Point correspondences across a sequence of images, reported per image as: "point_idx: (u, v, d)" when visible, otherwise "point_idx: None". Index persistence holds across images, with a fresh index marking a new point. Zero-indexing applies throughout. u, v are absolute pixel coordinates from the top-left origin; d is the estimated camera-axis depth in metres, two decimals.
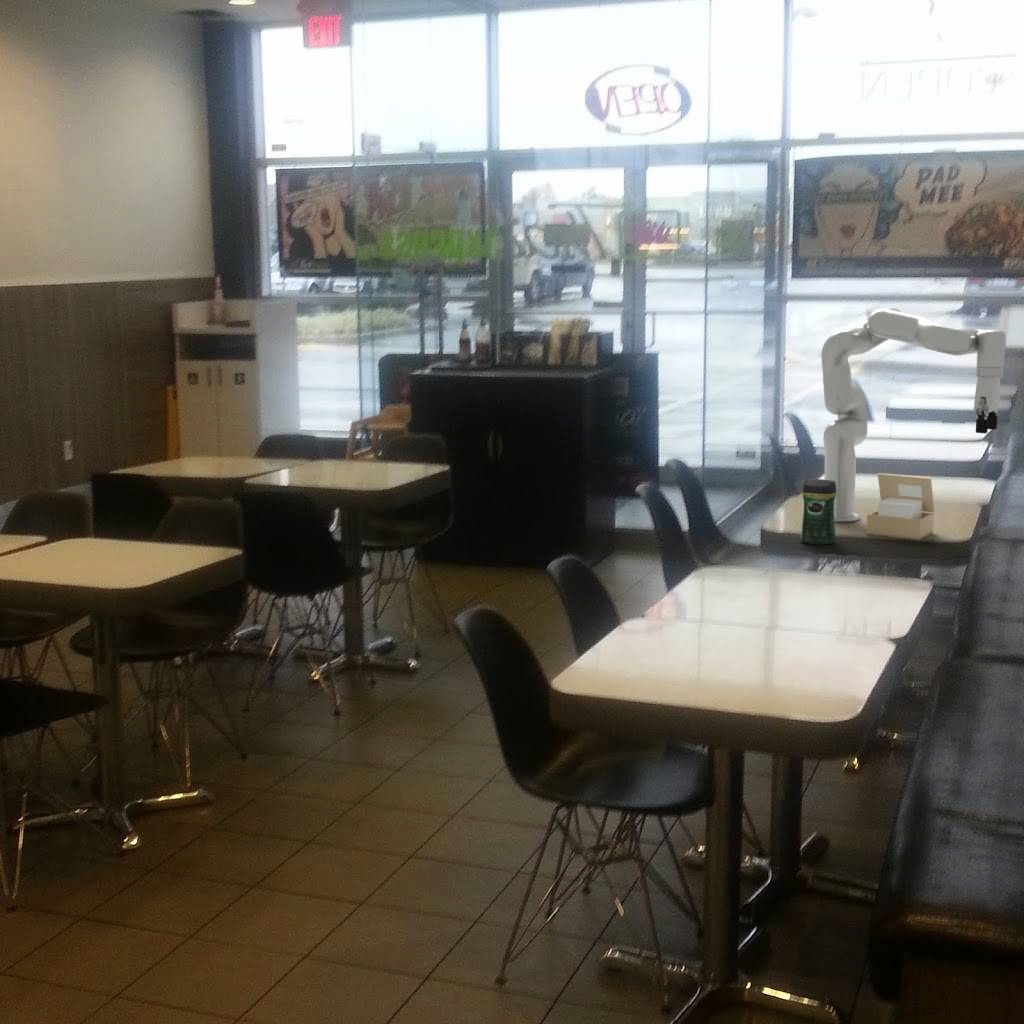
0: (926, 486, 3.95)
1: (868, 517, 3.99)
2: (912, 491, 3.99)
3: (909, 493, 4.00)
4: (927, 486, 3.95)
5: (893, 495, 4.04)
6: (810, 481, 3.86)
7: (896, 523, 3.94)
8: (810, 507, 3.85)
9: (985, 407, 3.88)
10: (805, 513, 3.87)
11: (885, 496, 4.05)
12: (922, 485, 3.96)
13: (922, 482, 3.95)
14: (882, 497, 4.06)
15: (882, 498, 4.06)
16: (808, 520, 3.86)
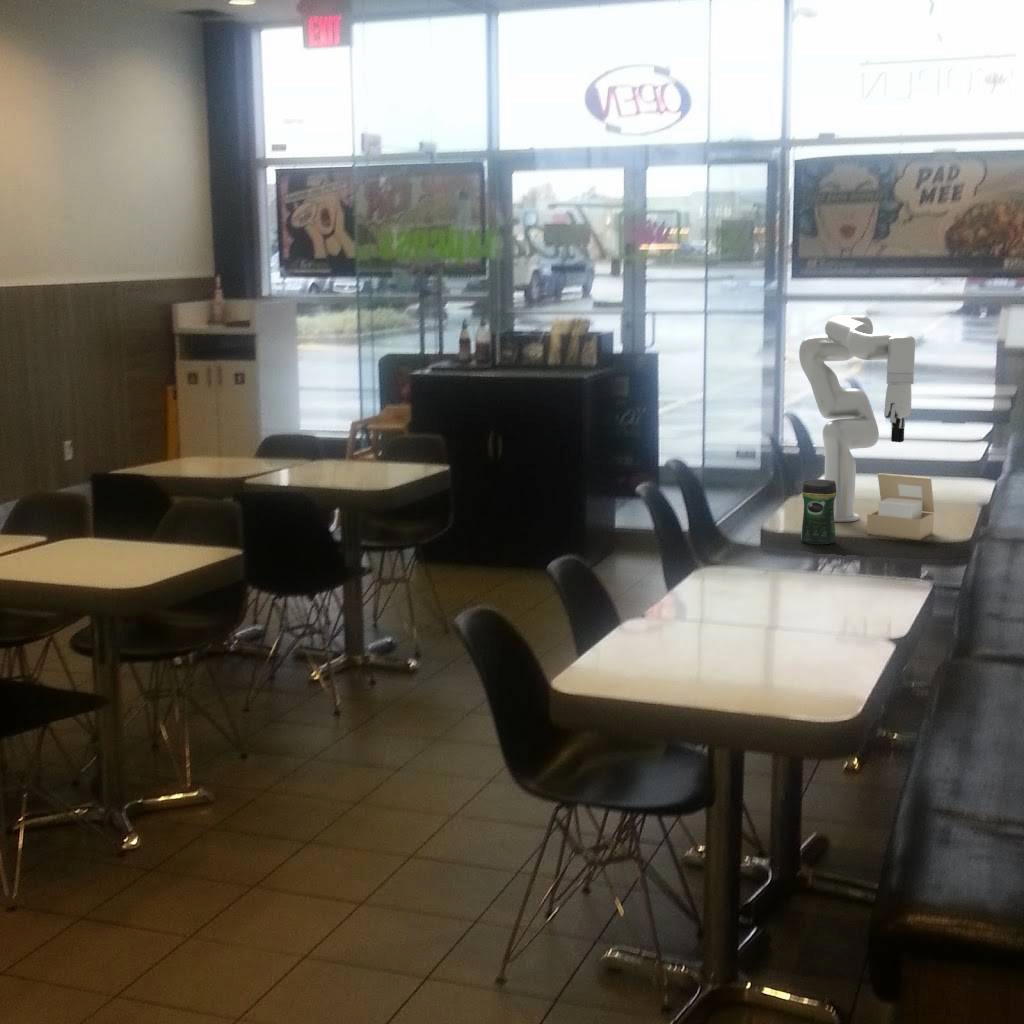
0: (926, 486, 3.95)
1: (868, 517, 3.99)
2: (912, 491, 3.99)
3: (909, 493, 4.00)
4: (927, 486, 3.95)
5: (893, 495, 4.04)
6: (810, 481, 3.86)
7: (896, 523, 3.94)
8: (810, 507, 3.85)
9: None
10: (805, 513, 3.87)
11: (885, 496, 4.05)
12: (922, 485, 3.96)
13: (922, 482, 3.95)
14: (882, 497, 4.06)
15: (882, 498, 4.06)
16: (808, 520, 3.86)
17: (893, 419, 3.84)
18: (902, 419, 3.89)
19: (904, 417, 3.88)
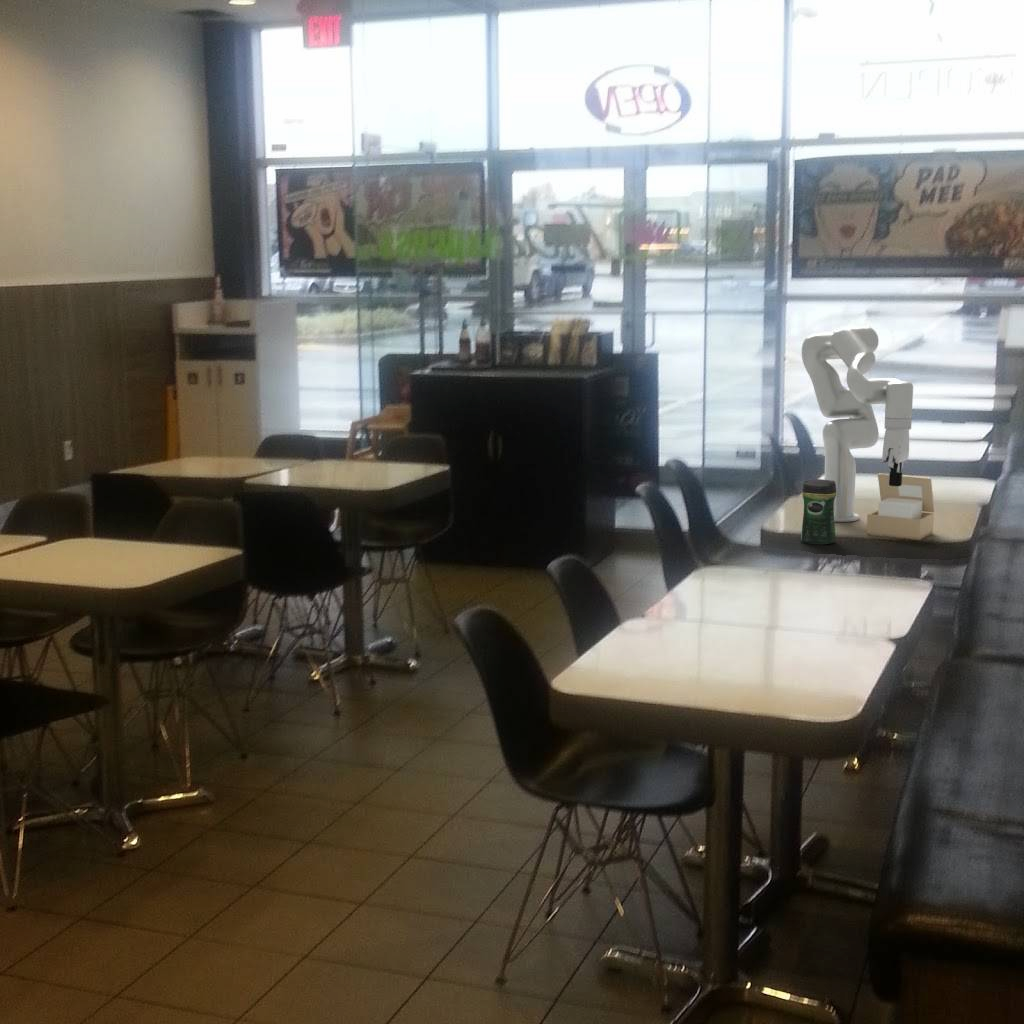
0: (926, 486, 3.95)
1: (868, 517, 3.99)
2: (912, 491, 3.99)
3: (909, 493, 4.00)
4: (927, 486, 3.95)
5: (893, 495, 4.04)
6: (810, 481, 3.86)
7: (896, 523, 3.94)
8: (810, 507, 3.85)
9: (895, 459, 3.89)
10: (805, 513, 3.87)
11: (885, 496, 4.05)
12: (922, 485, 3.96)
13: (922, 482, 3.95)
14: (882, 497, 4.06)
15: (882, 498, 4.06)
16: (808, 520, 3.86)
17: (891, 464, 3.87)
18: (900, 463, 3.91)
19: (902, 461, 3.91)
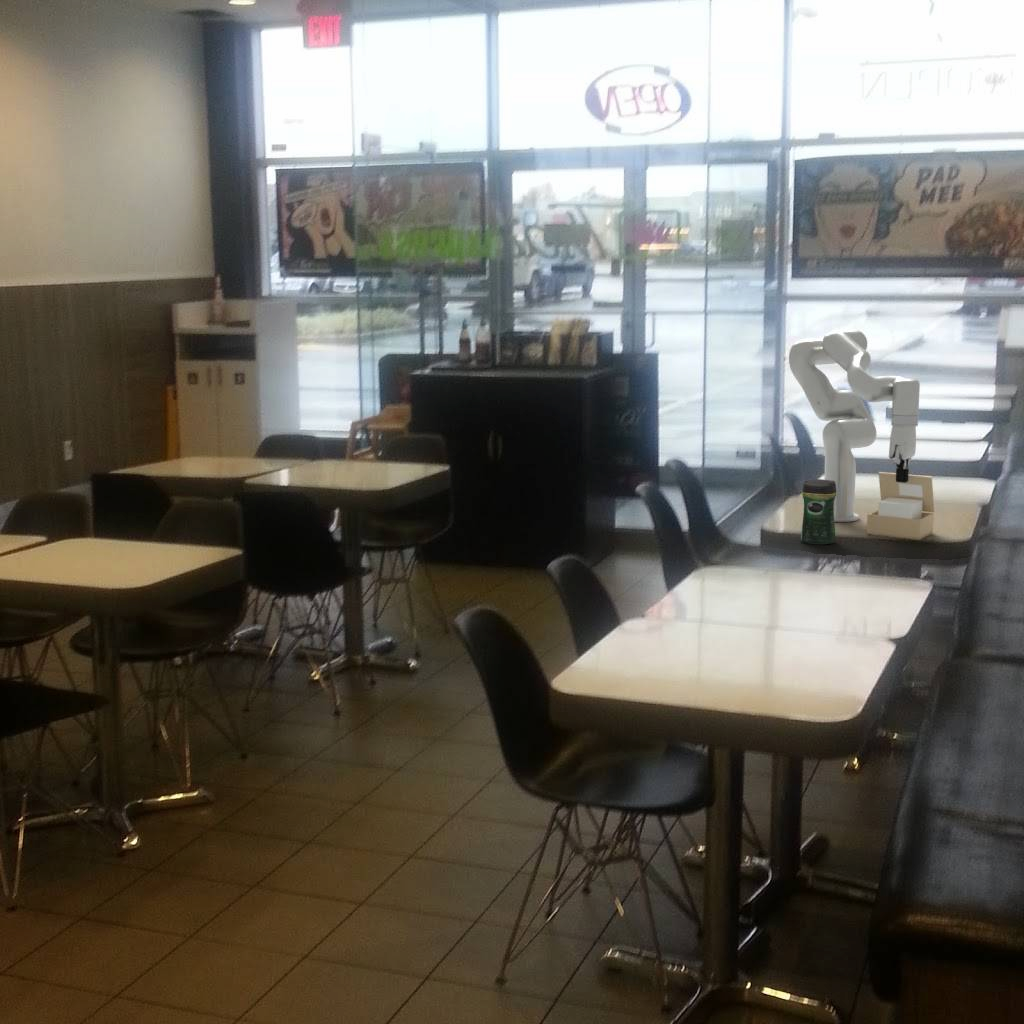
0: (927, 485, 3.96)
1: (868, 517, 3.99)
2: (913, 490, 3.99)
3: (909, 492, 4.00)
4: (928, 485, 3.96)
5: (893, 494, 4.04)
6: (810, 481, 3.86)
7: (896, 523, 3.94)
8: (810, 507, 3.85)
9: None
10: (805, 513, 3.87)
11: (886, 496, 4.05)
12: (922, 484, 3.96)
13: (923, 481, 3.96)
14: (882, 497, 4.06)
15: (882, 498, 4.06)
16: (808, 520, 3.86)
17: (897, 460, 3.92)
18: (906, 460, 3.96)
19: (908, 458, 3.96)
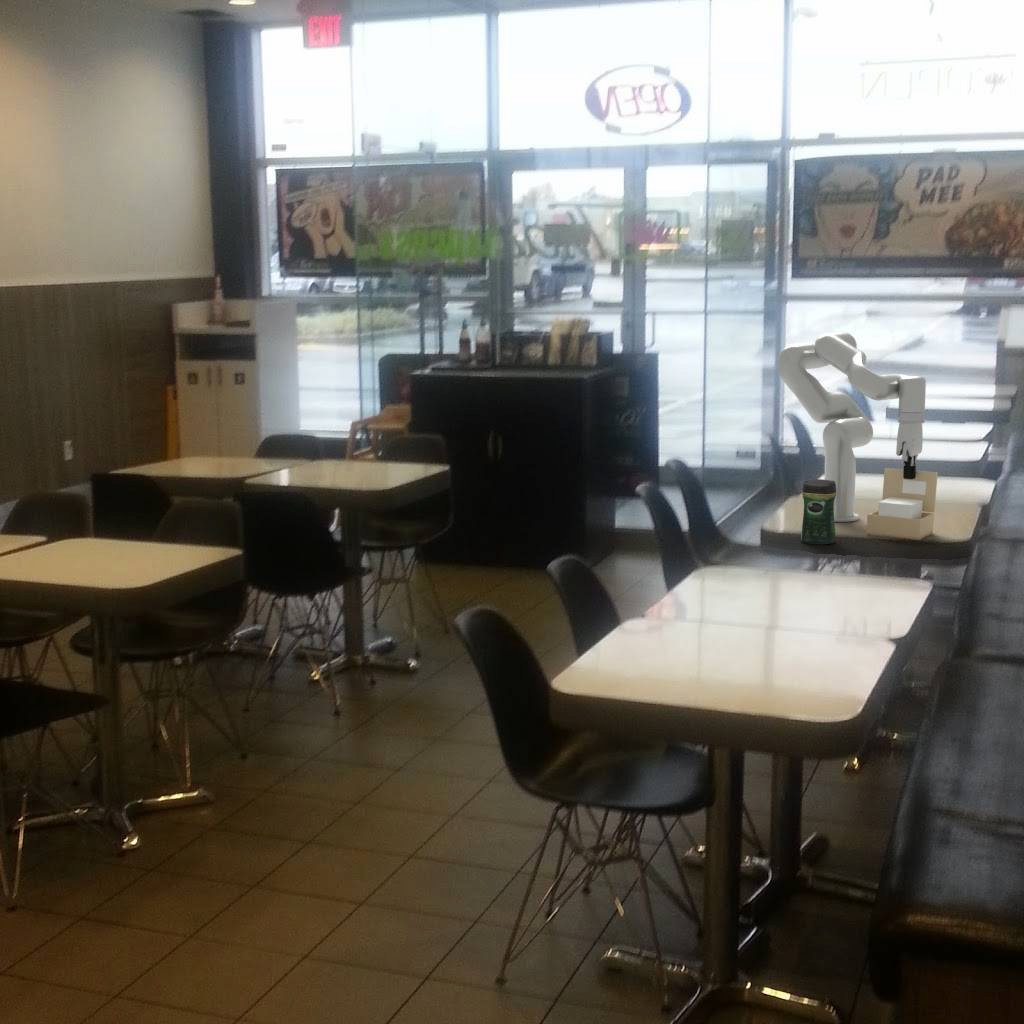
0: (931, 482, 3.99)
1: (868, 517, 3.99)
2: (916, 487, 4.02)
3: (912, 490, 4.02)
4: (932, 481, 3.99)
5: (896, 493, 4.05)
6: (810, 481, 3.86)
7: (896, 523, 3.94)
8: (810, 507, 3.85)
9: None
10: (805, 513, 3.87)
11: (888, 494, 4.07)
12: (927, 480, 4.00)
13: (928, 477, 3.99)
14: (884, 495, 4.07)
15: (884, 496, 4.08)
16: (808, 520, 3.86)
17: (905, 457, 3.95)
18: (914, 457, 4.00)
19: (916, 455, 4.00)
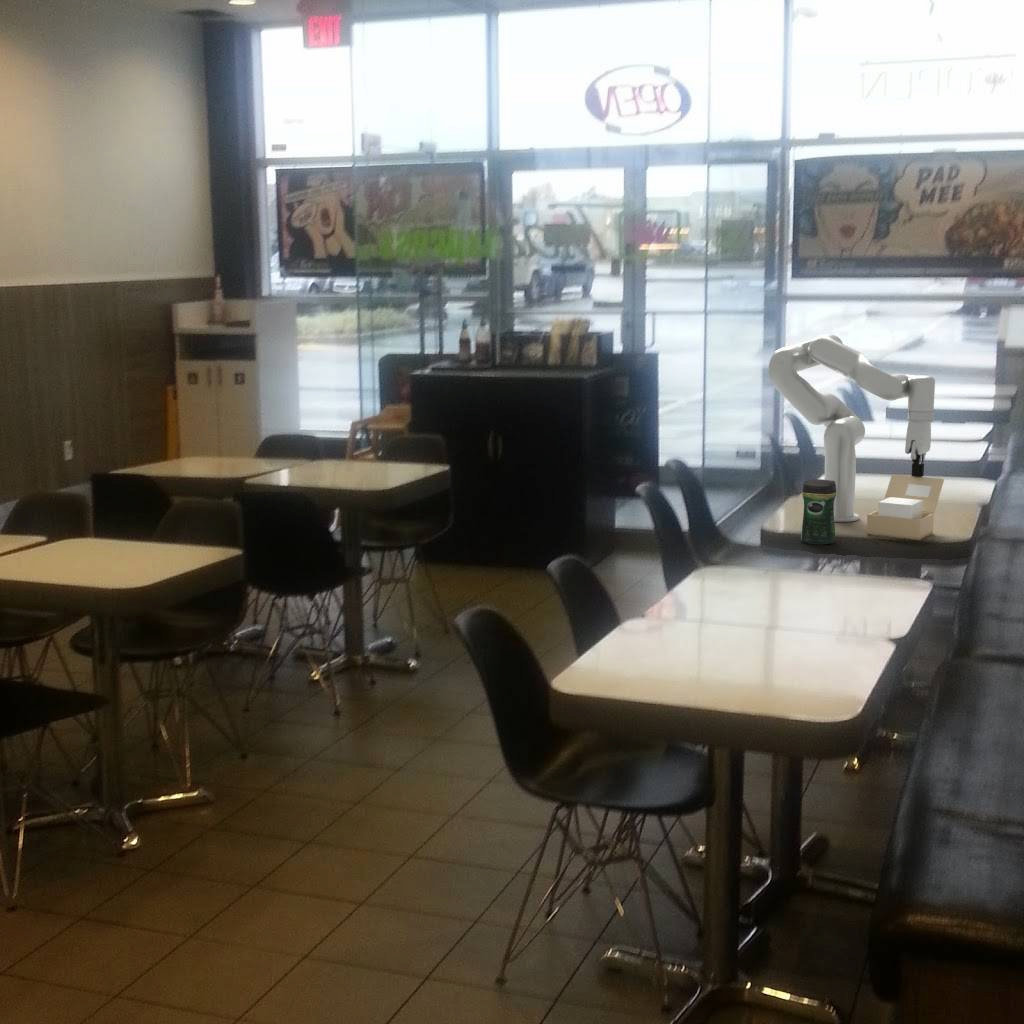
0: (936, 486, 4.03)
1: (868, 517, 3.99)
2: (920, 491, 4.05)
3: (916, 493, 4.05)
4: (937, 486, 4.03)
5: (899, 495, 4.08)
6: (810, 481, 3.86)
7: (896, 523, 3.94)
8: (810, 507, 3.85)
9: None
10: (805, 513, 3.87)
11: (890, 496, 4.09)
12: (932, 485, 4.04)
13: (934, 482, 4.05)
14: (886, 497, 4.09)
15: (886, 498, 4.09)
16: (808, 520, 3.86)
17: (913, 455, 4.03)
18: (922, 455, 4.07)
19: (924, 453, 4.07)
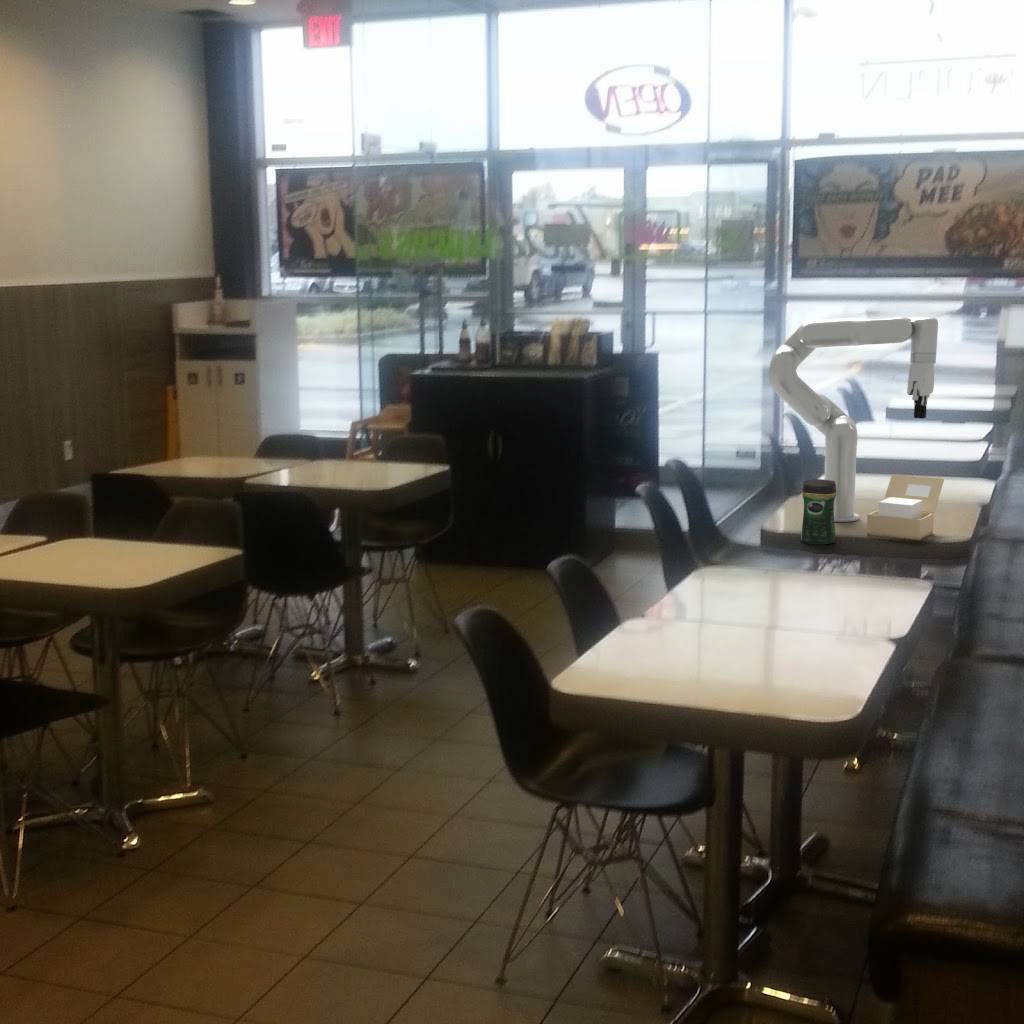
0: (936, 486, 4.03)
1: (868, 517, 3.99)
2: (920, 491, 4.05)
3: (916, 493, 4.05)
4: (937, 486, 4.03)
5: (899, 495, 4.08)
6: (810, 481, 3.86)
7: (896, 523, 3.94)
8: (810, 507, 3.85)
9: (919, 392, 4.09)
10: (805, 513, 3.87)
11: (890, 496, 4.09)
12: (932, 485, 4.04)
13: (934, 482, 4.05)
14: (886, 497, 4.09)
15: (886, 498, 4.09)
16: (808, 520, 3.86)
17: (915, 396, 4.06)
18: (924, 397, 4.11)
19: (926, 395, 4.10)
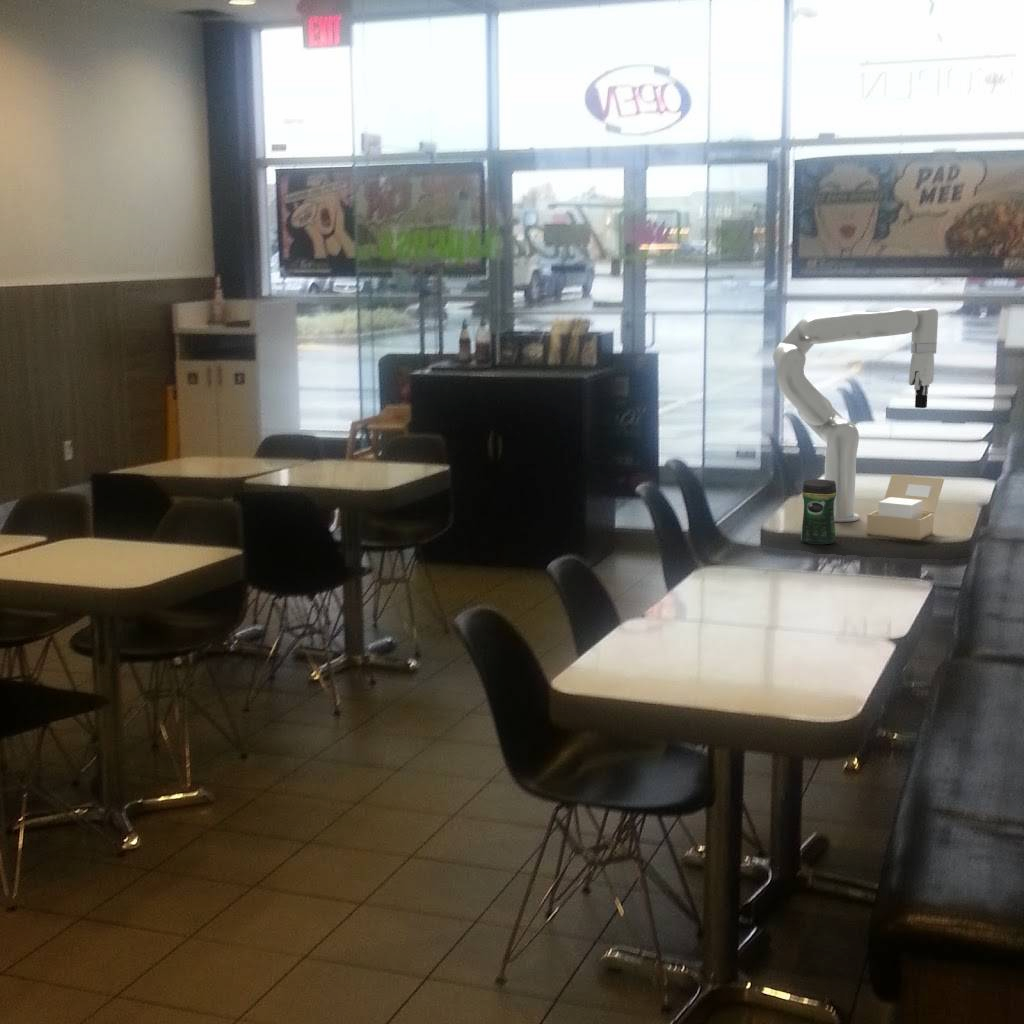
0: (936, 486, 4.03)
1: (868, 517, 3.99)
2: (920, 491, 4.05)
3: (916, 493, 4.05)
4: (937, 486, 4.03)
5: (899, 495, 4.08)
6: (810, 481, 3.86)
7: (896, 523, 3.94)
8: (810, 507, 3.85)
9: None
10: (805, 513, 3.87)
11: (890, 496, 4.09)
12: (932, 485, 4.04)
13: (934, 482, 4.05)
14: (886, 497, 4.09)
15: (886, 498, 4.09)
16: (808, 520, 3.86)
17: (917, 386, 4.11)
18: (925, 386, 4.15)
19: (927, 384, 4.15)
